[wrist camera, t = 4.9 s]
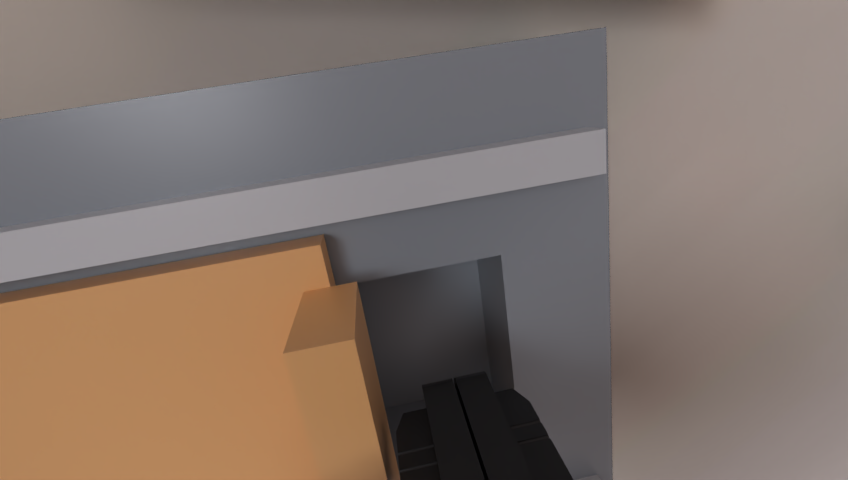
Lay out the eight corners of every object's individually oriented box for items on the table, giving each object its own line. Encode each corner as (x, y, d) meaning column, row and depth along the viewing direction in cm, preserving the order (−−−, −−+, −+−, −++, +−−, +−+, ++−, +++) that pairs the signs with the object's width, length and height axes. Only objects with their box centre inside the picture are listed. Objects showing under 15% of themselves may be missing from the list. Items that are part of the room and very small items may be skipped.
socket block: (-242, 169, 12) (-634, 211, 7) (537, 49, 13) (626, 20, 9) (22, 576, 17) (-107, 753, 12) (562, 450, 18) (627, 564, 14)
